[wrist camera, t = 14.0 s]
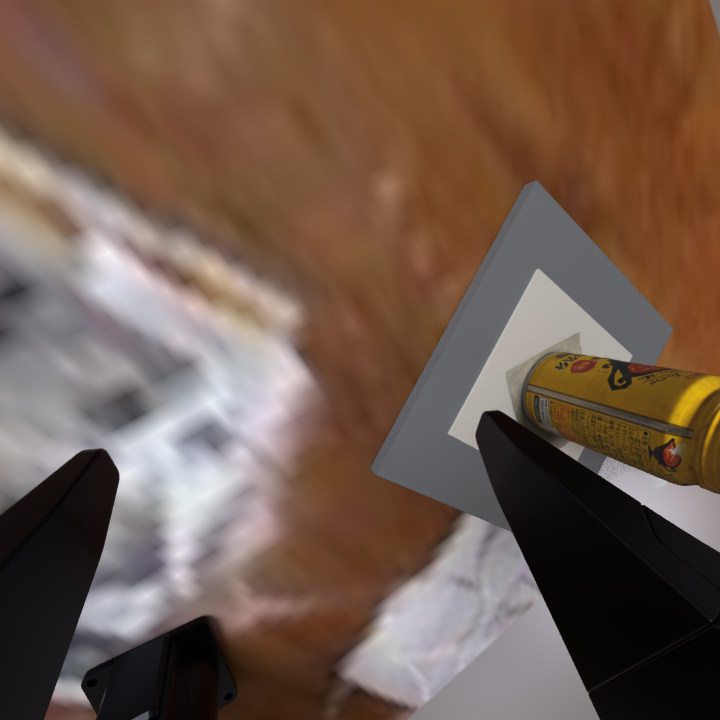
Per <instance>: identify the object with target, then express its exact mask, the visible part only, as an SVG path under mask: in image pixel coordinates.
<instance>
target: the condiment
mask: <svg viewBox="0 0 720 720" xmlns="http://www.w3.org/2000/svg"><path fill="white" fill-rule="evenodd" d="M579 334H580V332H578V333H576V334H574V335H572V336H571V337H569V338H566V339H565V340H563V341H561V342H559V343H557V344H555V345H553V346H551V347H549V348H547V349H545V350H544V351H542V352H540V353H538V354H537V355H535V356H533V357H531V358H529V359H528V360H526V361H524V362H523V363H522V364H520V365H518V366H516V367H514V368H513V369H511V370H509V371H507V372H506V376H507V380H508V385H509V390H510V395H511V398H512V404H513V408H514V412H515V414H516V415H515V416H516V419H517V422H519V423H520V424H522V425H523V426H525V427H526V428H528V429H529V430H531V431H532V432H534V433H535V434H537V435H538V436H540V437H541V438H543V439H544V440H546V441H547V442H549V443H550V444H552V445H553V446H555V447H557V448H558V449H560V448H562V447H563V446H565V445H566V444H567V443H568V442H574V443H576V444H579V445H581V446H583V447H586V448H588V449H591V450H593V451H595V452H598V453H601V454H603V455H605V456H608V457H610V458H613V459H615V460H618V461H620V462H622V463H624V464H627V465H629V466H632V467H634V468H637V469H639V470H642V471H644V472H646V473H649V474H651V475H654V476H656V477H658V478H661V479H664V480H666V481H668V482H670V483H673V484H677V485H681V486H688V485H689V486H690V485H699V486H700V487H701V488H704V489H707V490H709V491H711V492H714V493H717V494H720V377H718V376H715V375H707V374H702V373H698V372H692V371H683V370H677V369H671V368H664V367H657V366H650V365H644V364H639V363H632V362H625V361H620V360H615V359H610V358H600V357H597V356H588V355H583V354H582V352H581V346H580V338H579Z"/></svg>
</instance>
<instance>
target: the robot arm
mask: <svg viewBox="0 0 720 720" xmlns="http://www.w3.org/2000/svg"><path fill="white" fill-rule="evenodd" d="M475 438H476V442H477V445H478V448H479V451H480V454H481V457H482V460H483V462H484V465H485V468H486V471H487V474H488V477H489V480H490V483H491V485H492V488H493V491H494V493H495V496H496V498H497V500H498V502H499V505H500V507H501V509H502V511H503V513H504V515H505V517H506V520H507V522H508V524H509V526H510V528H511V530H512V532H513V534H514V537H515V539H516V541H517V543H518V545H519V547H520V549H521V552H522V554H523V556H524V558H525V560H526V562H527V564H528V566H529V569H530V571H531V573H532V575H533V577H534V579H535V581H536V584H537V586H538V588H539V590H540V592H541V594H542V596H543V598H544V601H545V603H546V605H547V607H548V609H549V611H550V613H551V615H552V618H553V620H554V622H555V624H556V626H557V628H558V630H559V632H560V635H561V637H562V639H563V641H564V643H565V645H566V647H567V650H568V652H569V654H570V656H571V658H572V660H573V662H574V665H575V666H576V669H577V671H578V673H579V675H580V677H581V680H582V682H583V684H584V686H585V688H586V690H587V692H588V693H589V697H590V699H591V701H592V703H593V706H594V708H595V710H596V712H597V714H598V716H599V718H600V720H720V552H718V551H716V550H714V549H713V548H711V547H710V546H708V545H706V544H705V543H703V542H701V541H699V540H698V539H696V538H695V537H693V536H691V535H690V534H688V533H687V532H685V531H684V530H682V529H680V528H679V527H677V526H676V525H674V524H673V523H671V522H669V521H668V520H666V519H665V518H663V517H662V516H660V515H659V514H657V513H655V512H654V511H652V510H651V509H649V508H648V507H646V506H645V505H641V503H640V502H639V501H637V500H635V499H634V498H633V497H631V496H630V495H628V494H626V493H625V492H623V491H622V490H620V489H619V488H617V487H616V486H614V485H613V484H611V483H610V482H608V481H607V480H605V479H604V478H602V477H601V476H599V475H598V474H596V473H595V472H593V471H591V470H590V469H588V468H587V467H585V466H584V465H582V464H581V463H579V462H578V461H576V460H575V459H573V458H572V457H570V456H569V455H567V454H566V453H564V452H563V451H561V450H560V449H558V448H557V447H555V446H553V445H552V444H550V443H549V442H547V441H546V440H544V439H543V438H541V437H540V436H538V435H537V434H535V433H534V432H532V431H531V430H529V429H528V428H526V427H525V426H523V425H522V424H520V423H519V422H517V421H515V420H514V419H512V418H511V417H509V416H508V415H506V414H505V413H503V412H502V411H500V410H491V411H485V412H483V413H482V415H481V418H480V421H479V424H478V426H477V429H476V433H475ZM118 484H119V471H118V469H117V467H116V466H115V464H114V462H113V460H112V459H111V457H110V455H109V454H108V452H107V451H106V450H105V449H101V448H100V449H89V450H83V451H81V452H79V453H78V454H76V455H75V456H74V457H73V458H71V459H70V460H69V461H68V462H66V463H65V464H64V465H63V466H61V467H60V468H59V469H58V470H56V471H55V472H54V473H53V474H51V475H50V476H49V477H48V478H46V479H45V480H44V481H43V482H41V483H40V484H39V485H38V486H36V487H35V488H34V489H33V490H31V491H30V492H29V493H28V494H26V495H25V496H24V497H23V498H21V499H20V500H19V501H18V502H16V503H15V504H14V505H13V506H11V507H10V508H9V509H8V510H6V511H5V512H4V513H3V514H1V515H0V720H44V718H45V715H46V712H47V709H48V706H49V703H50V700H51V698H52V695H53V692H54V689H55V686H56V683H57V680H58V678H59V675H60V672H61V669H62V666H63V663H64V660H65V658H66V655H67V652H68V649H69V646H70V643H71V640H72V638H73V635H74V632H75V629H76V626H77V623H78V621H79V618H80V615H81V612H82V609H83V606H84V603H85V601H86V598H87V595H88V592H89V589H90V586H91V583H92V581H93V578H94V575H95V572H96V569H97V566H98V563H99V561H100V557H101V554H102V551H103V548H104V544H105V540H106V536H107V532H108V528H109V523H110V519H111V515H112V510H113V506H114V501H115V497H116V493H117V488H118ZM200 626H202V628H198V627H200ZM93 679H94V680H93ZM81 687H82V690H83V691H84V693H85V695H86V697H87V698H88V700H89V702H90V703H91V705H92V707H93V709H94V710H95V712H96V714H97V718H96V720H217V716H218V709H220V708H222V707H224V706H225V705H227V704H229V703H231V702H232V701H234V700H235V698H236V696H237V685H236V683H235V680H234V678H233V676H232V673H231V671H230V668H229V666H228V664H227V661H226V659H225V656H224V654H223V652H222V649H221V647H220V644H219V642H218V640H217V637H216V635H215V633H214V630H213V628H212V625H211V623H210V621H209V619H208V618H206V617H199V618H197V619H195V620H193V621H190V622H188V623H186V624H184V625H182V626H180V627H178V628H176V629H174V630H172V631H170V632H167V633H165V634H163V635H161V636H159V637H157V638H155V639H153V640H151V641H149V642H146V643H144V644H142V645H140V646H138V647H136V648H134V649H132V650H130V651H128V652H125V653H123V654H121V655H119V656H117V657H115V658H113V659H111V660H109V661H107V662H104V663H102V664H100V665H98V666H96V667H94V668H92V669H90V670H89V671H87V673H86V674H85V676H84V678H83V681H82V684H81Z"/></svg>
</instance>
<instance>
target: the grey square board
mask: <svg viewBox="0 0 720 720" xmlns="http://www.w3.org/2000/svg"><path fill="white" fill-rule="evenodd" d="M672 331H673V328H672V327H671V326H670V325H669V324H668V322H667V321H666V320H665V319H664V318H663V317H662V316H661V315H660V314H659V313H658V312H657V310H656V309H655V308H654V307H653V306H652V305H651V304H650V303H649V302H648V301H647V300H646V299H645V297H644V296H643V295H642V294H641V293H640V292H639V291H638V290H637V289H636V288H635V287H634V286H633V284H632V283H631V282H630V281H629V280H628V279H627V278H626V277H625V276H624V275H623V274H622V273H621V271H620V270H619V269H618V268H617V267H616V266H615V265H614V264H613V263H612V262H611V261H610V259H609V258H608V257H607V256H606V255H605V254H604V253H603V252H602V251H601V250H600V249H599V248H598V246H597V245H596V244H595V243H594V242H593V241H592V240H591V239H590V238H589V237H588V236H587V235H586V233H585V232H584V231H583V230H582V229H581V228H580V227H579V226H578V225H577V224H576V223H575V222H574V220H573V219H572V218H571V217H570V216H569V215H568V214H567V213H566V212H565V211H564V210H563V208H562V207H561V206H560V205H559V204H558V203H557V202H556V201H555V200H554V199H553V198H552V197H551V195H550V194H549V193H548V192H547V191H546V190H545V189H544V188H543V187H542V186H541V185H540V184H539V182H538V181H537V180H536V181H534V182H531V183H529V184H526V185H524V187H523V189H522V191H521V193H520V194H519V196H518V198H517V200H516V202H515V204H514V205H513V207H512V209H511V211H510V213H509V215H508V216H507V218H506V220H505V222H504V224H503V226H502V227H501V229H500V231H499V233H498V235H497V237H496V238H495V240H494V242H493V244H492V246H491V248H490V249H489V251H488V253H487V255H486V257H485V259H484V260H483V262H482V264H481V266H480V268H479V270H478V271H477V273H476V275H475V277H474V279H473V280H472V282H471V284H470V286H469V288H468V290H467V291H466V293H465V295H464V297H463V299H462V301H461V302H460V304H459V306H458V308H457V310H456V312H455V313H454V315H453V317H452V319H451V321H450V323H449V324H448V326H447V328H446V330H445V332H444V334H443V335H442V337H441V339H440V341H439V343H438V345H437V346H436V348H435V350H434V352H433V354H432V356H431V357H430V359H429V361H428V363H427V365H426V367H425V368H424V370H423V372H422V374H421V376H420V378H419V379H418V381H417V383H416V385H415V387H414V388H413V390H412V392H411V394H410V396H409V398H408V399H407V401H406V403H405V405H404V407H403V409H402V410H401V412H400V414H399V416H398V418H397V420H396V421H395V423H394V425H393V427H392V429H391V431H390V432H389V434H388V436H387V438H386V440H385V442H384V443H383V445H382V447H381V449H380V451H379V453H378V454H377V456H376V458H375V460H374V462H373V464H372V465H371V467H370V468H371V470H372V471H373V472H374V473H375V474H376V475H377V476H380V477H382V478H384V479H387V480H389V481H392V482H394V483H396V484H399V485H401V486H404V487H406V488H408V489H411V490H413V491H416V492H418V493H420V494H423V495H425V496H428V497H430V498H432V499H435V500H437V501H440V502H442V503H444V504H447V505H449V506H451V507H454V508H456V509H459V510H461V511H463V512H466V513H468V514H471V515H473V516H475V517H478V518H480V519H483V520H485V521H487V522H490V523H492V524H495V525H497V526H499V527H502V528H504V529H507V530H509V531H511V532H512V530H511V528H510V526H509V524H508V522H507V520H506V517H505V515H504V513H503V511H502V509H501V507H500V505H499V502H498V500H497V498H496V496H495V493H494V491H493V488H492V485H491V483H490V480H489V477H488V474H487V471H486V468H485V465H484V462H483V460H482V457H481V454H480V451H479V448H478V445H477V442H476V438H475V433H476V429H477V426H478V424H479V421H480V418H481V415H482V413H483V412H485V411H491V410H500V411H502V412H503V413H505V414H506V415H508V416H509V417H511V418H512V419H514V420H515V421H517V419H516V416H515V415H516V414H515V412H514V408H513V404H512V398H511V395H510V390H509V385H508V380H507V376H506V372H507V371H509V370H511V369H513V368H514V367H516V366H518V365H520V364H522V363H523V362H524V361H526V360H528V359H529V358H531V357H533V356H535V355H537V354H538V353H540V352H542V351H544V350H545V349H547V348H549V347H551V346H553V345H555V344H557V343H559V342H561V341H563V340H565V339H566V338H569V337H571V336H572V335H574V334H576V333H578V332H580V334H579V338H580V346H581V352H582V354H583V355H588V356H597V357H600V358H610V359H615V360H620V361H625V362H632V363H639V364H644V365H650V366H654V365H655V363H656V361H657V360H658V358H659V356H660V354H661V352H662V350H663V348H664V346H665V344H666V342H667V340H668V339H669V337H670V335H671V333H672ZM560 450H561V451H563V452H564V453H566V454H567V455H569V456H570V457H572V458H573V459H575V460H576V461H578V462H579V463H581V464H582V465H584V466H585V467H587V468H588V469H590V470H591V471H593V472H595V473H596V474H598V472H599V470H600V468H601V466H602V464H603V462H604V460H605V459H606V457H607V456H605V455H603V454H601V453H598V452H595V451H593V450H591V449H588V448H586V447H583V446H581V445H579V444H576V443H574V442H568V443H567V444H566V445H565V446H563V447H562V448H560Z"/></svg>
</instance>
